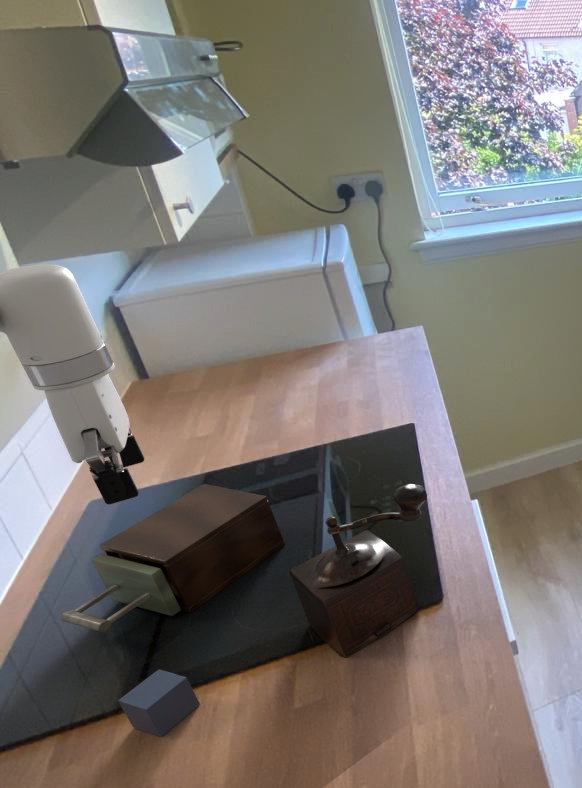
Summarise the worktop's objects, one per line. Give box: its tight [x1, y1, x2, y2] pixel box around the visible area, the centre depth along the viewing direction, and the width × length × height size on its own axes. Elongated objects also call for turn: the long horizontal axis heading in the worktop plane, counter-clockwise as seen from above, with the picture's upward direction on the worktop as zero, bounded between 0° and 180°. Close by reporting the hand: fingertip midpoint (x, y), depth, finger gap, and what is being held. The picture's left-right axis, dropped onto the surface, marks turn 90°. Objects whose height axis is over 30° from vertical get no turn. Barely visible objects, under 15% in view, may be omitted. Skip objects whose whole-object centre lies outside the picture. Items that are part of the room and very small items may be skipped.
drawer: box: [60, 553, 182, 633], centre depth 102 cm, size 20×11×7 cm, turn 164°
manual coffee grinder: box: [289, 483, 428, 658], centre depth 97 cm, size 16×11×18 cm
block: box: [117, 669, 201, 738], centre depth 85 cm, size 4×4×4 cm
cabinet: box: [99, 483, 286, 614], centre depth 107 cm, size 15×13×9 cm
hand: (126, 481), depth 96 cm, fingers open, 9 cm apart
